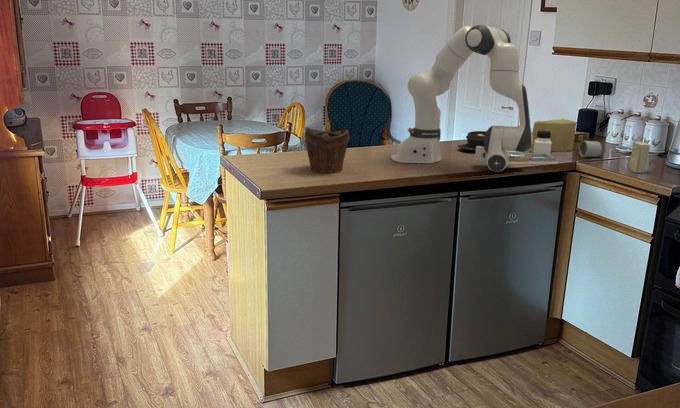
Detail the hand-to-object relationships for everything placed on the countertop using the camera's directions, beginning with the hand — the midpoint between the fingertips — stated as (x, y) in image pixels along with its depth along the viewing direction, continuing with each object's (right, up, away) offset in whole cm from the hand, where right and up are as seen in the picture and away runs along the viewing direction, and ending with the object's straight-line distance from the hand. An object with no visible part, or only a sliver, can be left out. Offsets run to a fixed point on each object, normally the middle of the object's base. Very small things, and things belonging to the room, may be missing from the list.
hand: (500, 149), depth 268 cm
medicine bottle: (+25, -1, +20) cm, 32 cm away
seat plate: (+14, -4, +9) cm, 17 cm away
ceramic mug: (+47, -2, +21) cm, 51 cm away
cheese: (+32, +2, +32) cm, 46 cm away
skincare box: (+56, -10, -9) cm, 57 cm away
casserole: (0, +2, +31) cm, 32 cm away
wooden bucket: (-76, -10, -13) cm, 77 cm away
